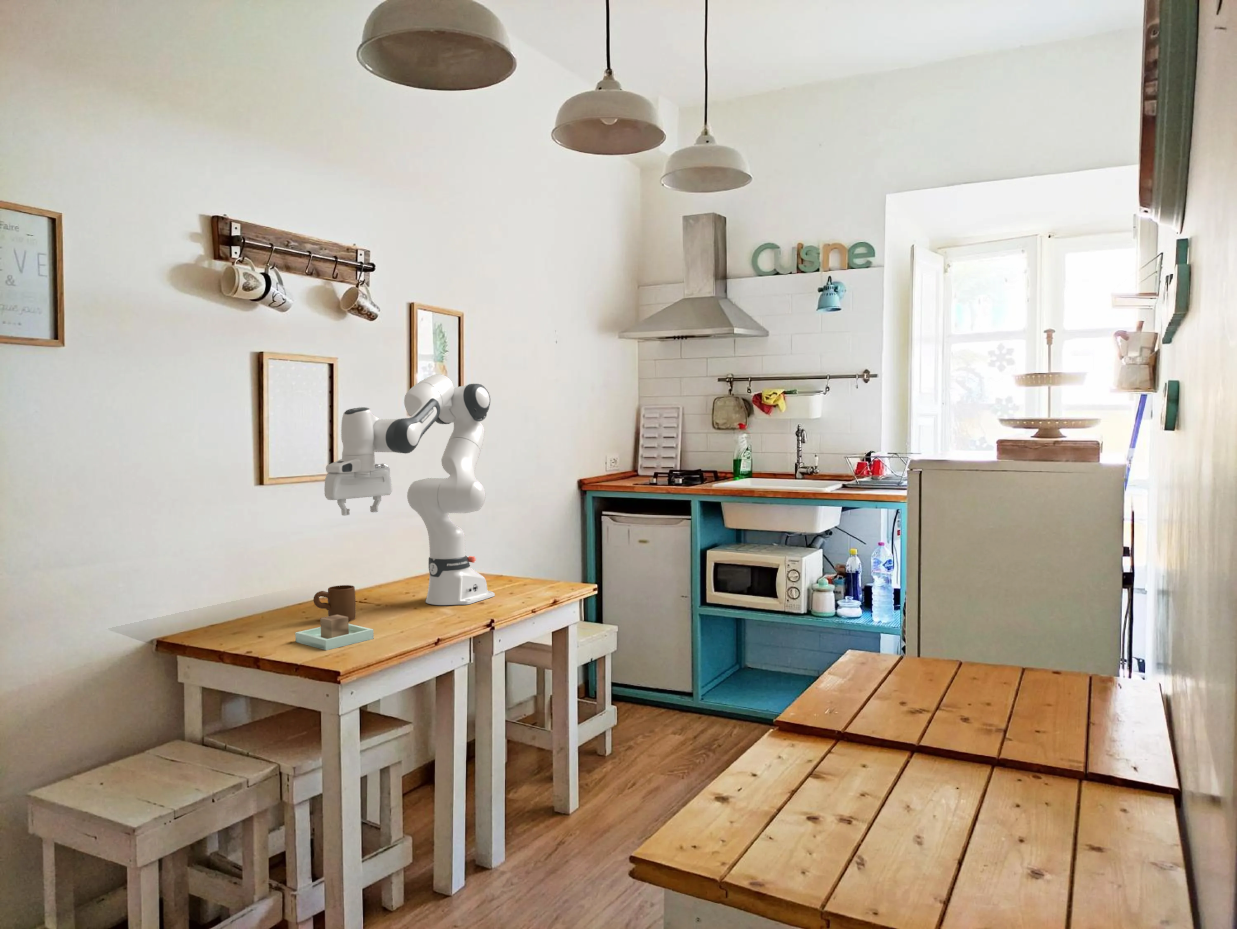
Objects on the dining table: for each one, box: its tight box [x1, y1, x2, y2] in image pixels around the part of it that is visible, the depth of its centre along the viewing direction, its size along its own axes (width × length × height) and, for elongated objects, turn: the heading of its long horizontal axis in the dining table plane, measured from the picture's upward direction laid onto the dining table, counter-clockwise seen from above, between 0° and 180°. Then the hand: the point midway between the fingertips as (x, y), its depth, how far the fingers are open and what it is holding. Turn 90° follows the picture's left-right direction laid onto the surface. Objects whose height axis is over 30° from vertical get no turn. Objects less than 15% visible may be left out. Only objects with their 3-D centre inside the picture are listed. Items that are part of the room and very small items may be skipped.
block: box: [320, 615, 350, 639], centre depth 224 cm, size 5×5×5 cm
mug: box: [313, 584, 357, 622], centre depth 246 cm, size 12×8×9 cm, turn 132°
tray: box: [294, 623, 375, 651], centre depth 224 cm, size 14×14×2 cm
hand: (360, 513), depth 243 cm, fingers open, 8 cm apart
